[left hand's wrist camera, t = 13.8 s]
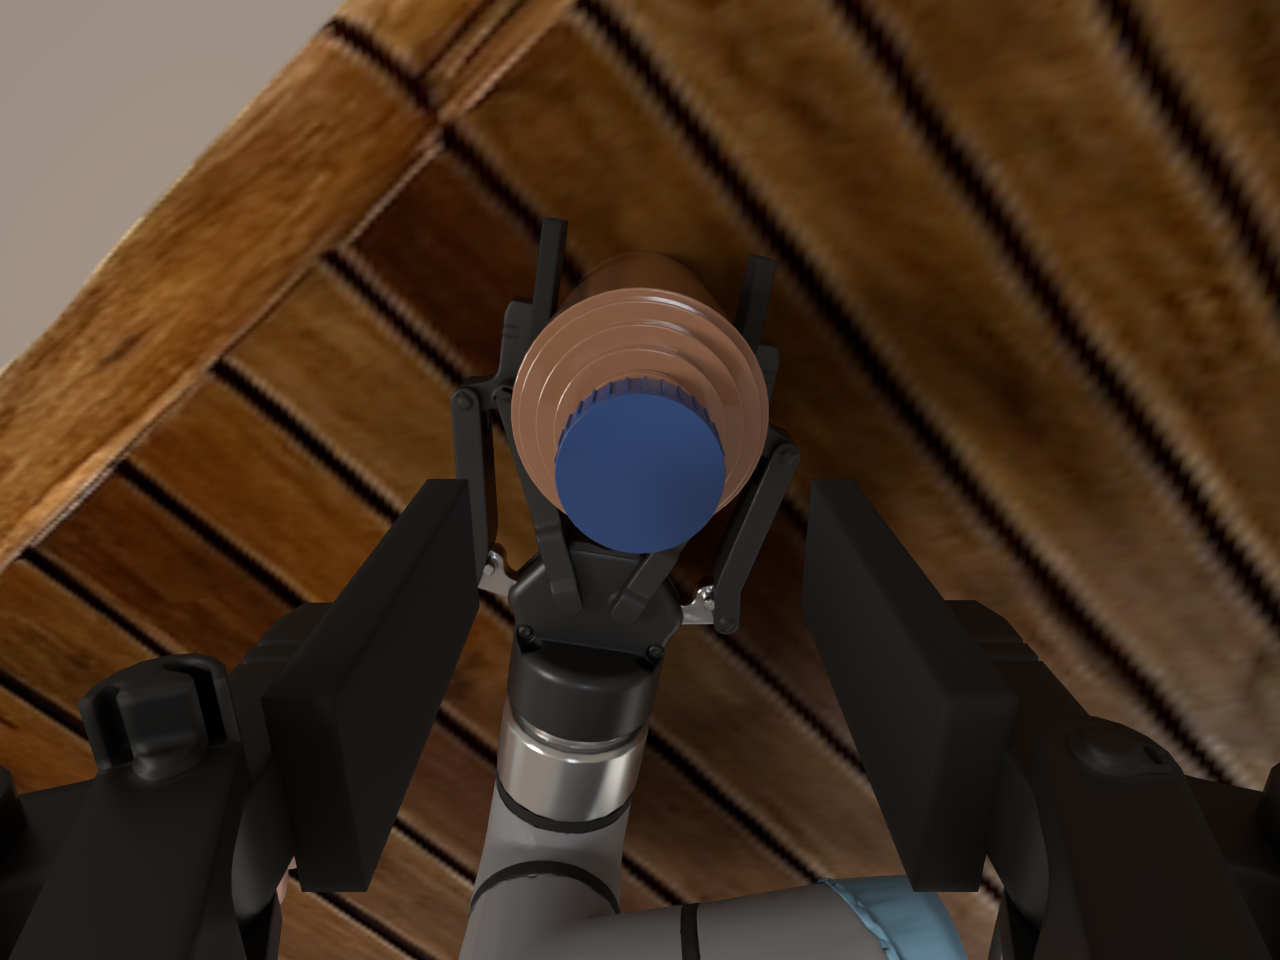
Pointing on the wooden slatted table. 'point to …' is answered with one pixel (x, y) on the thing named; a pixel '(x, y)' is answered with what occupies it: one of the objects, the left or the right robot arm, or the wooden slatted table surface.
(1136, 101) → the wooden slatted table surface
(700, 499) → the cap
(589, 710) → the right robot arm
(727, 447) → the bottle
